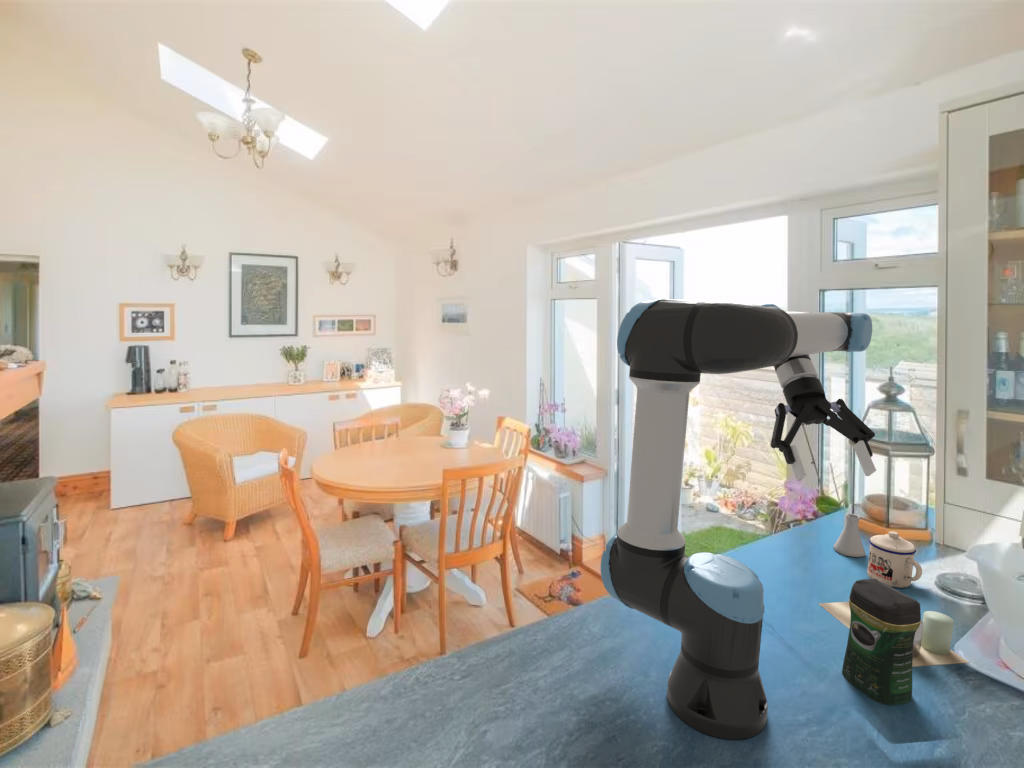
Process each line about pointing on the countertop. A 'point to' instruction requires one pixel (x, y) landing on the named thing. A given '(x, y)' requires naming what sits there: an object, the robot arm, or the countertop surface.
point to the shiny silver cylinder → (918, 640)
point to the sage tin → (937, 632)
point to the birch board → (924, 659)
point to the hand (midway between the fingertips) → (836, 476)
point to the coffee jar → (881, 641)
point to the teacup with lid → (892, 560)
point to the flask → (850, 538)
